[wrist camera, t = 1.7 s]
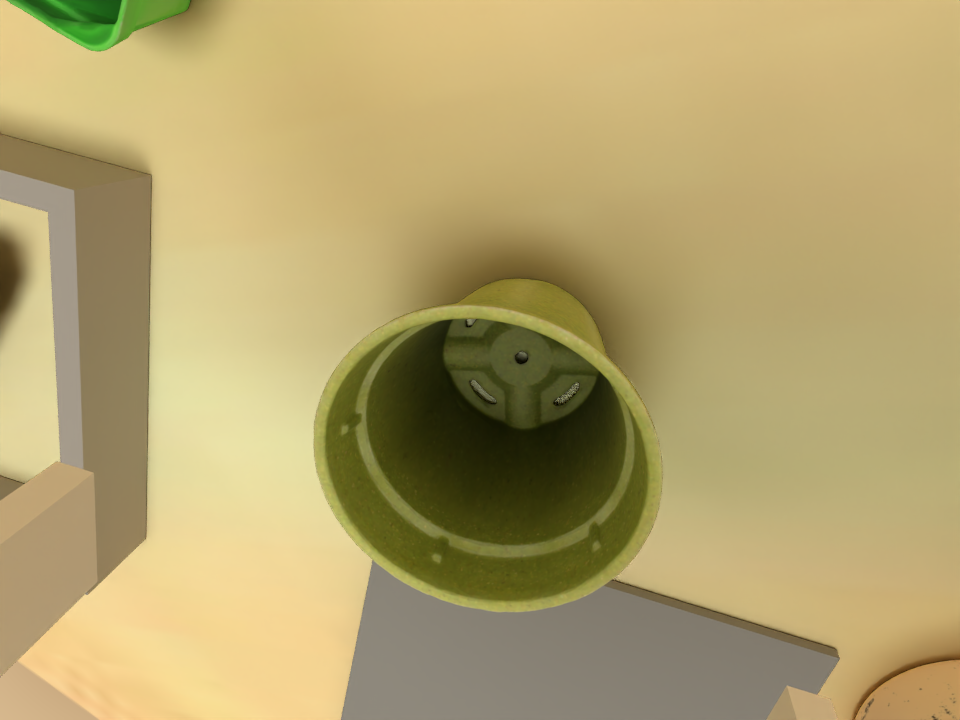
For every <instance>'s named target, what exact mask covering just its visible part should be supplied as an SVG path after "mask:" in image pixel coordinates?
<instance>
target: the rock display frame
mask: <svg viewBox="0 0 960 720" xmlns="http://www.w3.org/2000/svg"><path fill="white" fill-rule="evenodd" d="M0 199H3V200H7V201H11V202H14V203H18V204H21V205H25V206H28V207H32V208H35V209H39V210H42V211H46V212H48V220H49V240H50V260H51V280H52V300H53V320H54V339H55V359H56V379H57V399H58V419H59V439H60V459H61V463H64V464H67V465H70V466H74V467H77V468H80V469H84V470H87V471H90V472H93V473H94V487H95V518H96V549H97V581H98V582H97V583H96V584H95V585H94V586H93V587H92V588H91V589H90V590H88V591H87V592H86V593H85V594H86V595H88V594H89V593H90V592H91V591H92V590H93V589H94V588H95V587H96V586H97V585H98V584H99V583H100V582H101V581H103V580H104V579H105V578H106V577H107V576H108V575H109V574H110V573H111V572H112V571H113V570H114V569H115V568H116V567H117V566H118V565H119V564H120V563H121V562H122V561H123V560H124V559H125V558H126V557H127V556H128V555H129V554H130V553H131V552H132V551H134V550H135V549H136V548H137V547H138V546H139V545H140V544H141V543H142V542H143V541H144V540H145V539H146V493H147V425H148V357H149V289H150V222H151V175H149V174H145V173H141V172H138V171H134V170H130V169H127V168H123V167H119V166H116V165H112V164H108V163H105V162H101V161H97V160H94V159H90V158H86V157H83V156H79V155H75V154H72V153H68V152H64V151H61V150H57V149H54V148H50V147H46V146H43V145H39V144H35V143H32V142H28V141H24V140H21V139H17V138H13V137H10V136H6V135H2V134H0ZM22 485H23V483H20V482H17V481H14V480H11V479H8V478H4V477H1V476H0V500H2V499H3V498H5V497H6V496H8V495H9V494H10V493H12V492H13V491H15V490H16V489H18V488H19V487H21V486H22Z"/></svg>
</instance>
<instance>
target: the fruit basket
mask: <svg viewBox="0 0 960 720" xmlns="http://www.w3.org/2000/svg"><path fill="white" fill-rule="evenodd" d="M7 1H8V2H10V3H11V4H13V5H15V6H16V7H18V8H20V9H22V10H23V11H25V12H27V13H28V14H30V15H32V16H33V17H35V18H36V19H38V20H40V21H41V22H43V23H44V24H46V25H47V26H49V27H50V28H52V29H53V30H55V31H56V32H58V33H60V34H62V35H64V36H65V37H67V38H69V39H70V40H72V41H74V42H75V43H77V44H79V45H81V46H83V47H85V48H87V49H89V50H91V51H104V50H107V49H109V48H111V47H113V46H114V45H116V44H118V43H120V42H121V41H123V40H125V39H126V38H128V37H129V36H130V34H131V33H132V32H134V31H136V30H139V29H141V28H144V27H146V26H149V25H151V24H154V23H156V22H159V21H161V20H164V19H166V18H169V17H172V16H174V15H177V14H180V13H182V12H184V11H186V10H187V9H188V7H189V4H190V1H191V0H7Z"/></svg>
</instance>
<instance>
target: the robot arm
mask: <svg viewBox="0 0 960 720" xmlns="http://www.w3.org/2000/svg"><path fill="white" fill-rule="evenodd" d="M97 582H98V581H97V549H96V518H95V487H94V473H93V472H90V471H87V470H84V469H80V468H77V467H74V466H70V465H67V464H64V463H61V462H55V463H54V464H52V465H51V466H49V467H48V468H46V469H45V470H44V471H42V472H41V473H39V474H38V475H36V476H35V477H34V478H32V479H31V480H29V481H28V482H26V483H25V484H23V485H22V486H21V487H19V488H18V489H16V490H15V491H13V492H12V493H10V494H9V495H8V496H6V497H5V498H3V499H2V500H0V677H1V676H2V675H3V674H4V673H5V672H6V671H7V670H8V669H9V668H10V667H11V666H12V665H13V664H14V663H15V662H16V661H17V660H18V659H19V658H20V657H21V656H22V655H24V654H25V653H26V652H27V651H28V650H29V649H30V648H31V647H32V646H33V645H34V644H35V643H36V642H37V641H38V640H39V639H40V638H41V637H42V636H43V635H44V634H45V633H46V632H47V631H48V630H49V629H50V628H51V627H52V626H53V625H54V624H55V623H56V622H57V621H58V620H59V619H60V618H61V617H62V616H63V615H64V614H65V613H66V612H67V611H68V610H69V609H70V608H71V607H72V606H73V605H74V604H75V603H76V602H77V601H78V600H79V599H80V598H81V597H82V596H83V595H84V594H85V593H86V592H87V591H88V590H90V589H91V588H92V587H93V586H94V585H95V584H96V583H97ZM766 720H838V718H837V715H836V712H835V710H834V707H833V704H832V701H831V699H829V698H826V697H822V696H819V695H816V694H813V693H809V692H806V691H803V690H800V689H796V688H793V687H790V686H786V688H785V689H784V691H783V693H782V694H781V696H780V698H779V699H778V701H777V703H776V704H775V706H774V708H773V709H772V711H771V712H770V714H769V716H768V717H767V719H766Z"/></svg>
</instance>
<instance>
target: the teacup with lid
mask: <svg viewBox="0 0 960 720" xmlns="http://www.w3.org/2000/svg"><path fill="white" fill-rule="evenodd" d="M855 720H960V660H950V661H942V662H936V663H931V664H927V665H923V666H919V667H916V668H913V669H911V670H908V671H906V672H903V673H901V674H899V675H897V676H895V677H893V678H891V679H890V680H888V681H887V682H885V683H883V684H882V685H881V686H880V687H878V688H877V689H876V690H875V691H874V692H873V693H872V694H871V695H870V696H869V697H868V698H867V699H866V700H865V702H864V703H863V705H862V706H861V708H860V709H859V711H858V713H857V715H856V718H855Z"/></svg>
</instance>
